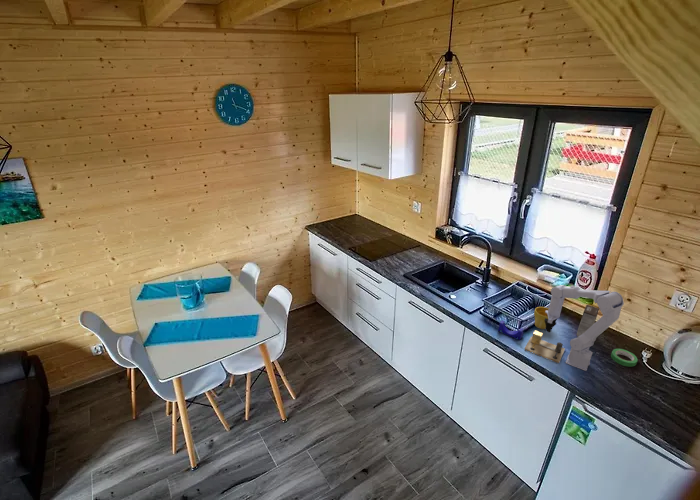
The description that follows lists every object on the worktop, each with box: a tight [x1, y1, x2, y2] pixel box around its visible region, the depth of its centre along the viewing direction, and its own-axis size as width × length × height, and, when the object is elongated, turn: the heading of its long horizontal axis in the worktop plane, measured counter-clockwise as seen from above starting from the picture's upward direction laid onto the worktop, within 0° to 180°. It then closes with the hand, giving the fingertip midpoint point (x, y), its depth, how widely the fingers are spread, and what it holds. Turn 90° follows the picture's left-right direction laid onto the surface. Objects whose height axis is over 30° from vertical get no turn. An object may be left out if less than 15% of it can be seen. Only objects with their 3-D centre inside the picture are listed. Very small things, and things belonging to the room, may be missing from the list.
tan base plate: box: [523, 335, 566, 364], centre depth 208 cm, size 17×13×6 cm
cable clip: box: [497, 320, 524, 341], centre depth 221 cm, size 12×4×6 cm, turn 48°
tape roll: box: [610, 348, 638, 368], centre depth 203 cm, size 11×11×3 cm
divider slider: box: [531, 330, 544, 349], centre depth 210 cm, size 4×8×6 cm, turn 142°
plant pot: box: [533, 306, 549, 330], centre depth 227 cm, size 10×10×10 cm
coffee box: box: [576, 304, 600, 337], centre depth 219 cm, size 9×6×16 cm
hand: (549, 327), depth 211 cm, fingers open, 7 cm apart
